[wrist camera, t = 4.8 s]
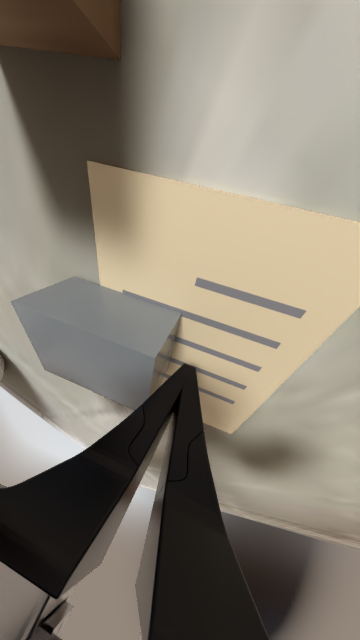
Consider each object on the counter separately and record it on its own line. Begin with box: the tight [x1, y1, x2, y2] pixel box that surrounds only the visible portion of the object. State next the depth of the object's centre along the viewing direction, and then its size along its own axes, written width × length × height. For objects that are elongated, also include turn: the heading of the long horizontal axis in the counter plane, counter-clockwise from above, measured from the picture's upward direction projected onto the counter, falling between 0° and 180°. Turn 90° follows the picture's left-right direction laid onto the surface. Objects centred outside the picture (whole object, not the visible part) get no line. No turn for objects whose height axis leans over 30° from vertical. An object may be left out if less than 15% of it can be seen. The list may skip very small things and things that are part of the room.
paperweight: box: [11, 277, 182, 410], centre depth 10 cm, size 7×5×4 cm
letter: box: [87, 161, 360, 434], centre depth 11 cm, size 12×16×1 cm
